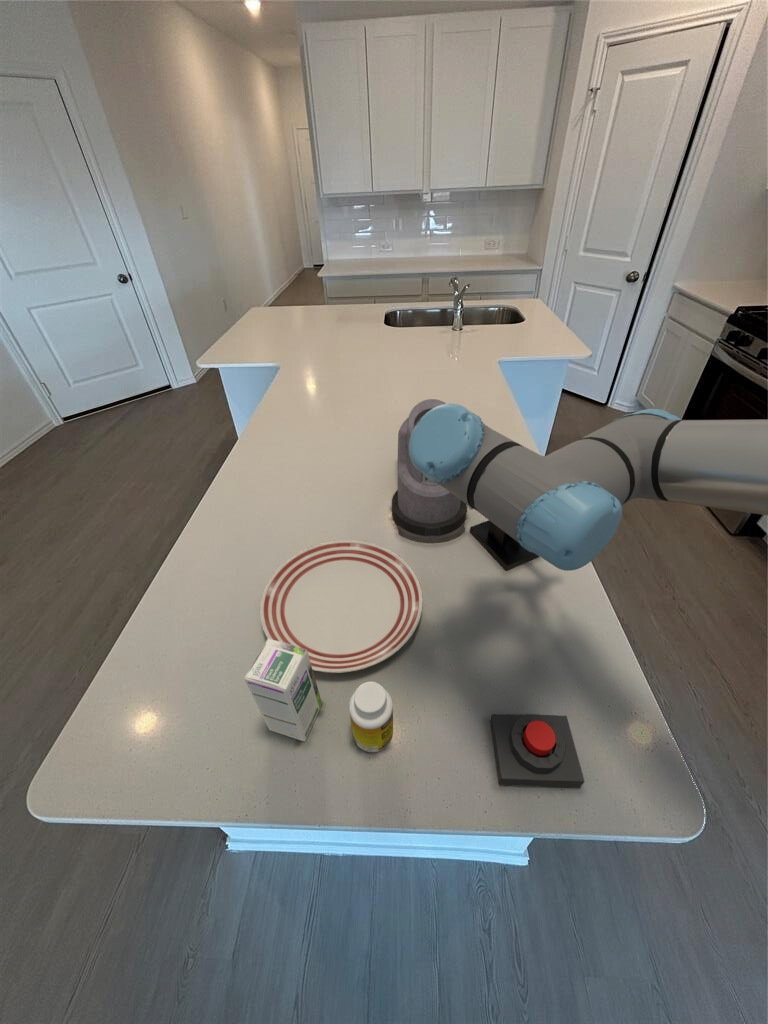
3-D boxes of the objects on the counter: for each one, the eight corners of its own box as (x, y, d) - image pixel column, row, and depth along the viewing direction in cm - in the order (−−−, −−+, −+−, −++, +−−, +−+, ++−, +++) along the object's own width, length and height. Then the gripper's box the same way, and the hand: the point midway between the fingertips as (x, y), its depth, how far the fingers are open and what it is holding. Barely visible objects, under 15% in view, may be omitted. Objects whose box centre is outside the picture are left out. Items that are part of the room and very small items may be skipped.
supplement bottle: (386, 759, 58) (384, 725, 51) (347, 746, 59) (340, 711, 52) (398, 718, 62) (398, 682, 55) (361, 707, 63) (356, 670, 56)
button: (548, 726, 57) (551, 720, 56) (555, 756, 54) (559, 750, 53) (520, 725, 57) (523, 719, 56) (526, 755, 54) (529, 749, 53)
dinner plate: (445, 578, 81) (446, 566, 79) (378, 711, 63) (377, 700, 60) (319, 535, 91) (317, 523, 88) (229, 639, 72) (224, 628, 70)
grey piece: (472, 542, 88) (488, 435, 72) (392, 544, 88) (390, 438, 72) (453, 458, 111) (462, 363, 95) (389, 460, 111) (387, 365, 95)
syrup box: (305, 743, 60) (287, 690, 50) (267, 730, 61) (242, 676, 52) (322, 704, 64) (309, 648, 54) (286, 692, 65) (266, 636, 56)
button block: (562, 722, 61) (569, 709, 58) (579, 787, 55) (588, 776, 52) (489, 720, 61) (493, 707, 59) (498, 785, 55) (503, 773, 53)
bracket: (539, 556, 84) (556, 501, 75) (505, 571, 82) (518, 515, 73) (501, 520, 93) (511, 466, 84) (469, 531, 90) (477, 477, 81)
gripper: (447, 484, 57) (515, 527, 75) (522, 541, 49) (579, 575, 67) (482, 436, 56) (543, 492, 74) (565, 487, 48) (612, 536, 66)
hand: (560, 531), depth 70 cm, fingers closed
